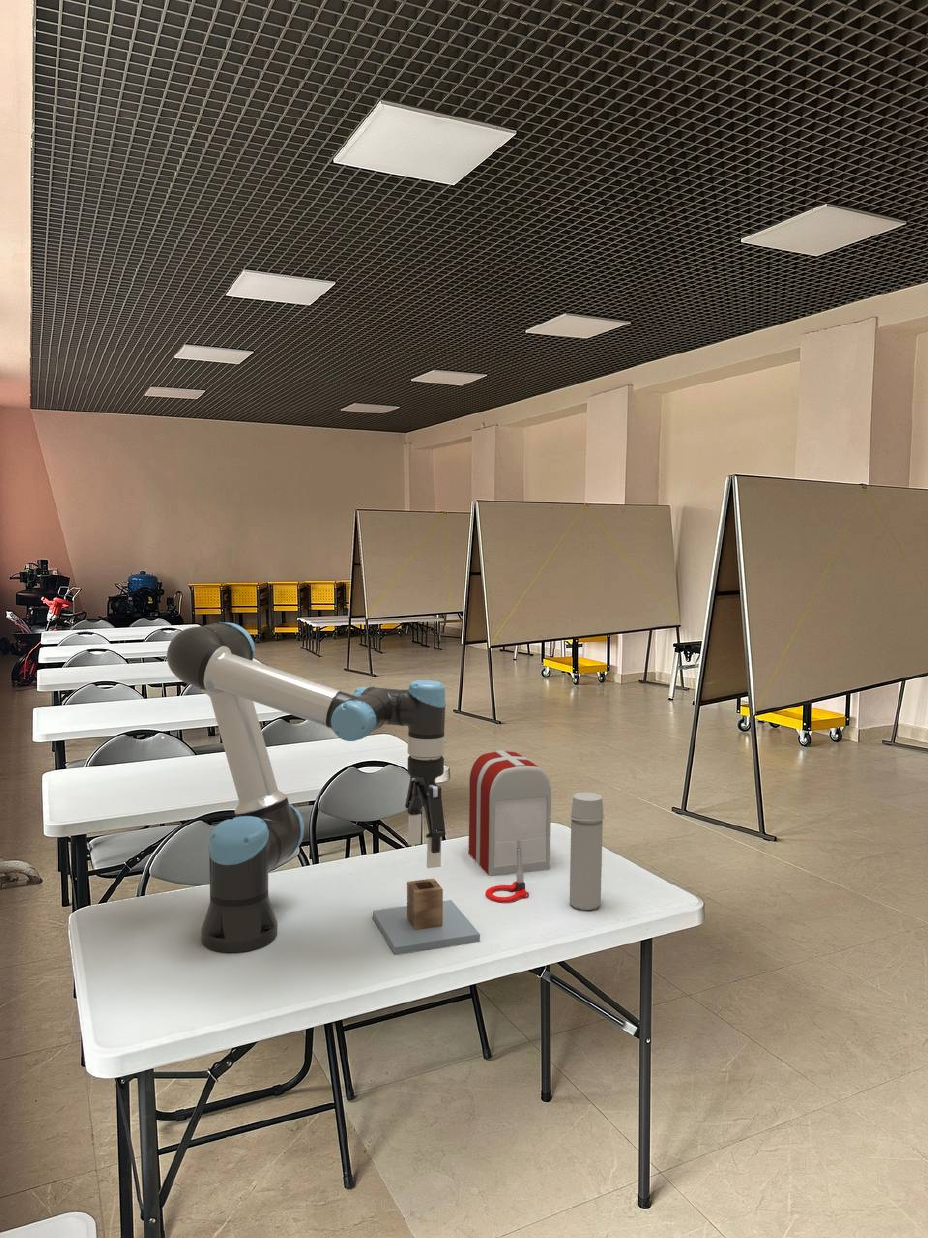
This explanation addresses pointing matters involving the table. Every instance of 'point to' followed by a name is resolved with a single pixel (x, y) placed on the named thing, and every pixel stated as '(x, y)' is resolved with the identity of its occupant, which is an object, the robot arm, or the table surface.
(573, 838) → the water bottle
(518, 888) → the tow hook
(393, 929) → the pin plate
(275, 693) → the robot arm
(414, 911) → the block
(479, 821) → the striped mailbox
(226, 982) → the table surface
